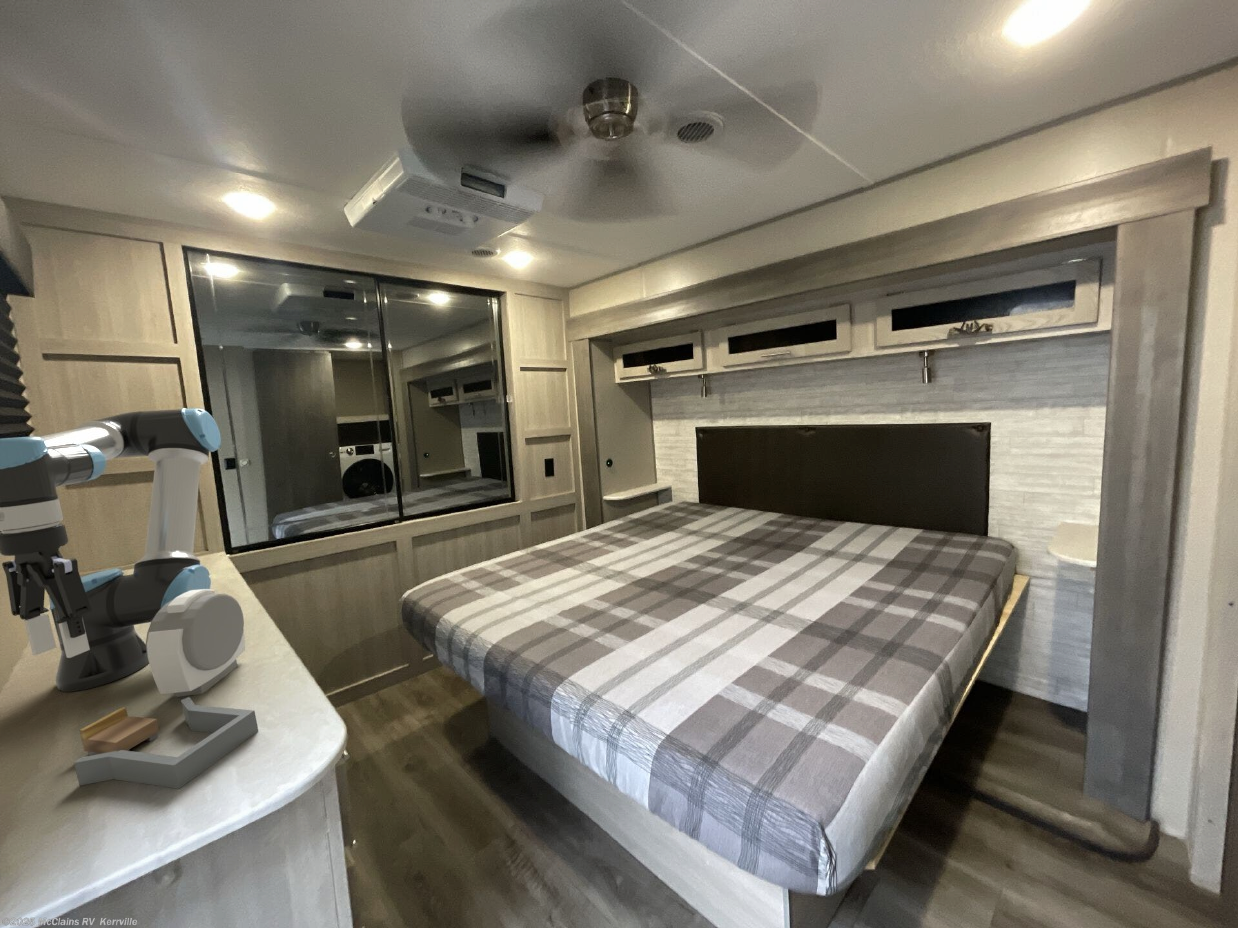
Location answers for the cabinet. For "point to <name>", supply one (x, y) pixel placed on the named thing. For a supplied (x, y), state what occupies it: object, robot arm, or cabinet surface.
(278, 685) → the cabinet surface
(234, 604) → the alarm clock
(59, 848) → the cabinet surface
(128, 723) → the tan block yellow end
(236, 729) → the bay
